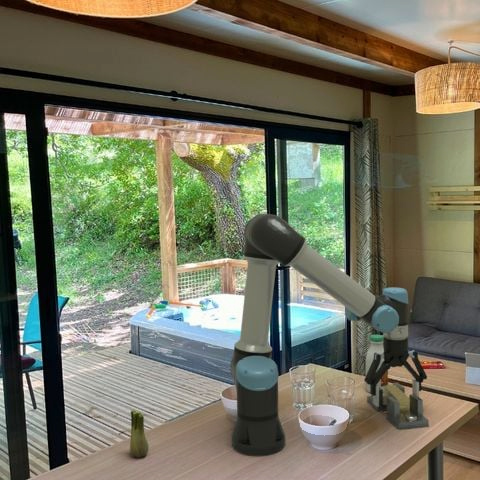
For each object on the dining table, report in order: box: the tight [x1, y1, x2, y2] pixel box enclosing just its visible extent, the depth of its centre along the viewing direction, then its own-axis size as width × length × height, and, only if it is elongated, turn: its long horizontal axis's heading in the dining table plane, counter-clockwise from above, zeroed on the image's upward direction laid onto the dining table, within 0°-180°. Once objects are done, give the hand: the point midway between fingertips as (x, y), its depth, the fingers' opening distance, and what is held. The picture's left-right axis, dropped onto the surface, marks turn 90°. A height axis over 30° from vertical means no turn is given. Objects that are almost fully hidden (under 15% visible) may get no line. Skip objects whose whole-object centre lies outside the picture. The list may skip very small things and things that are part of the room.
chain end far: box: [366, 382, 406, 412], centre depth 169 cm, size 10×8×7 cm
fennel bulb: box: [129, 409, 149, 458], centre depth 139 cm, size 6×5×12 cm
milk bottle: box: [365, 334, 389, 394], centre depth 182 cm, size 8×8×20 cm
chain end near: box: [385, 393, 430, 431], centre depth 155 cm, size 10×8×7 cm
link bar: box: [384, 384, 410, 415], centre depth 162 cm, size 12×4×5 cm, turn 3°
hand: (395, 403), depth 162 cm, fingers open, 13 cm apart
